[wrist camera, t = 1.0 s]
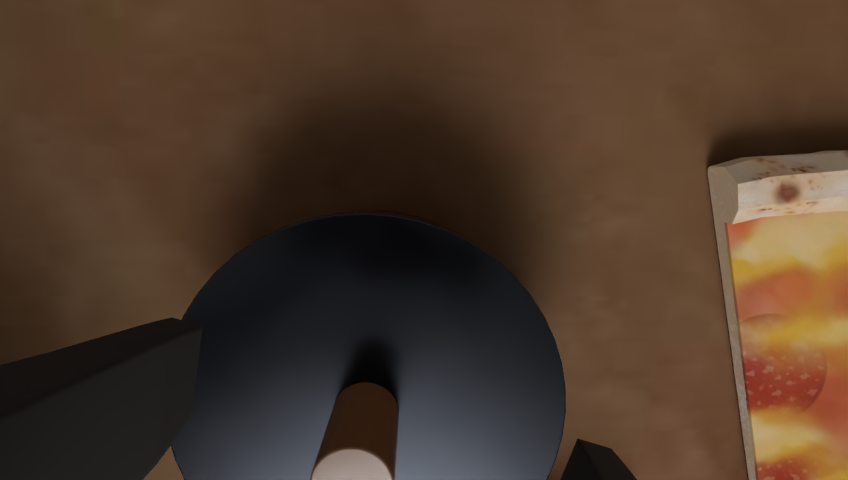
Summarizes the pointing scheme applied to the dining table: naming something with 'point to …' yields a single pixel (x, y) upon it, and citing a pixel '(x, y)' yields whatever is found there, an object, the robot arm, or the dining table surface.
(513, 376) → the pan lid
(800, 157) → the pizza slice
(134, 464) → the robot arm
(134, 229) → the dining table surface
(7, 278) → the dining table surface
